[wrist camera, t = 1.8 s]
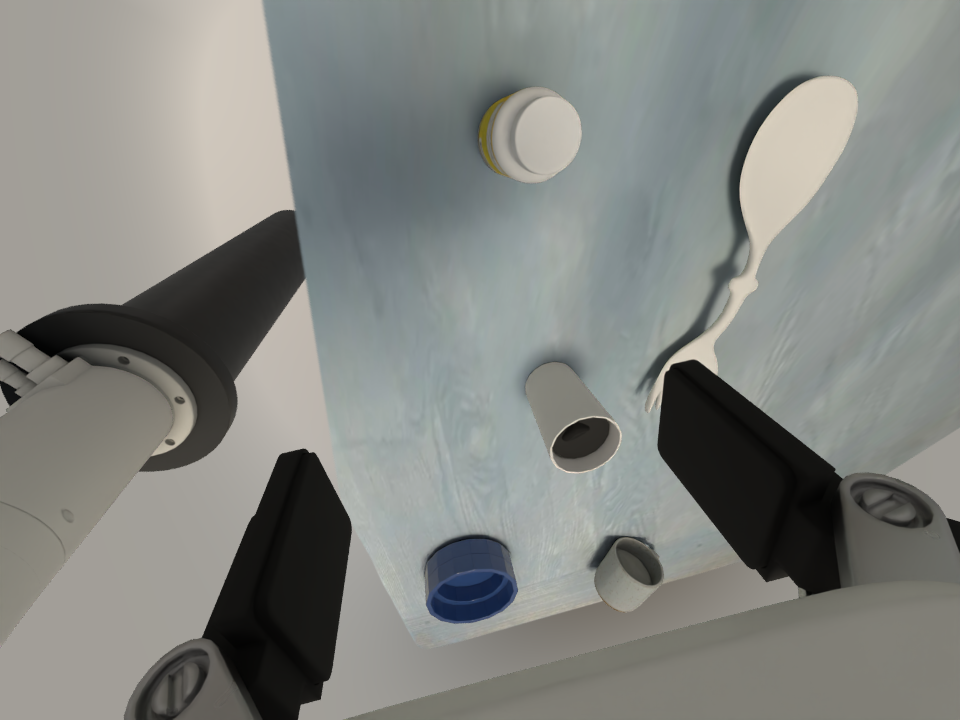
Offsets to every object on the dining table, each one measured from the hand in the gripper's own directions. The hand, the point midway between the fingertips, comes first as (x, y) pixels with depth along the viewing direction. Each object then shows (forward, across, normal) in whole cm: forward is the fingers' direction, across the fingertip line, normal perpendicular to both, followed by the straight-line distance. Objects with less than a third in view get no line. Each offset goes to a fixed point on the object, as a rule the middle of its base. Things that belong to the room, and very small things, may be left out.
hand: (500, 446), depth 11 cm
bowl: (+27, +6, +46) cm, 54 cm away
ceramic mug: (+27, -18, +54) cm, 63 cm away
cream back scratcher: (+27, -28, +9) cm, 40 cm away
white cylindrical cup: (+27, -9, +18) cm, 34 cm away
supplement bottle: (+27, -7, -6) cm, 29 cm away
